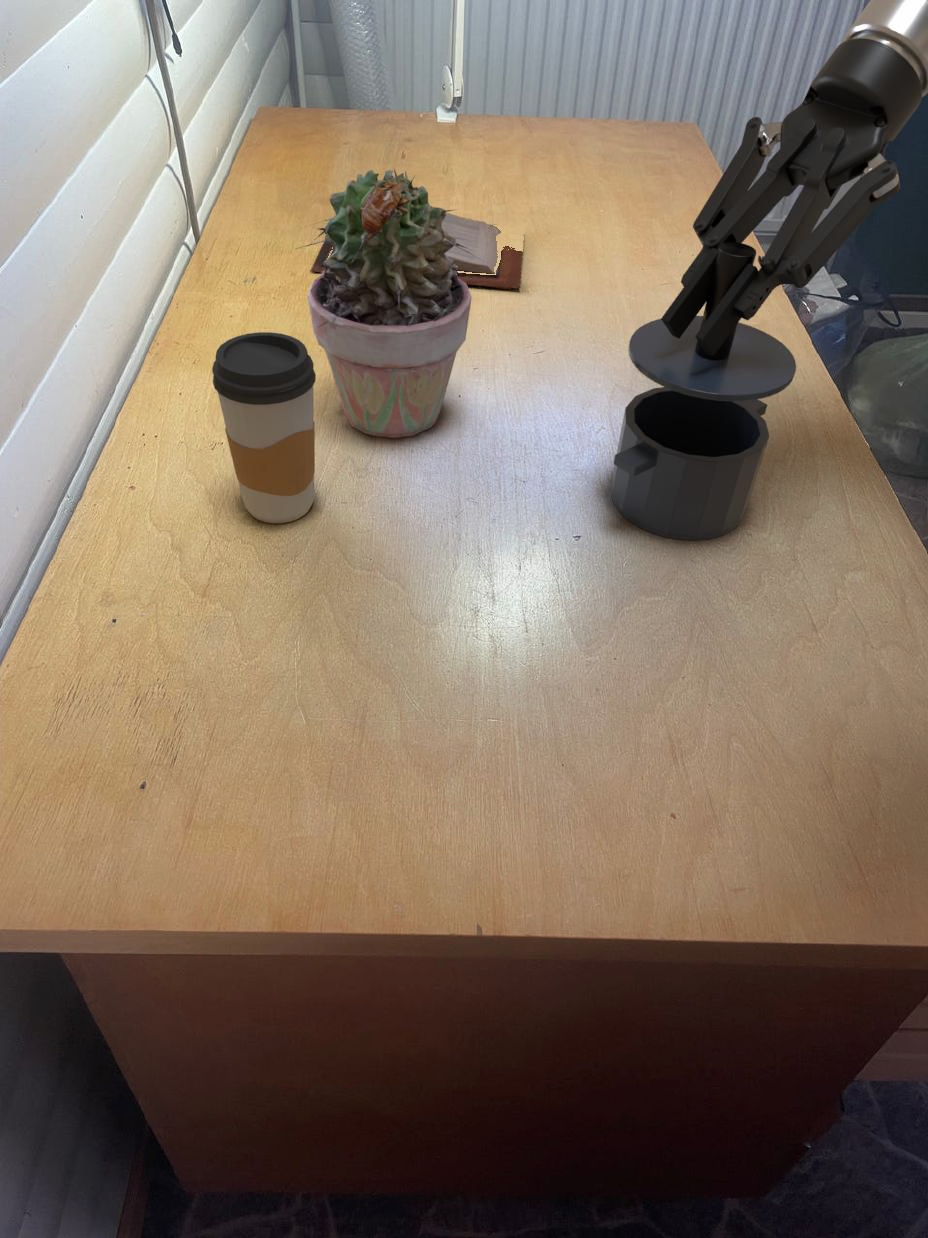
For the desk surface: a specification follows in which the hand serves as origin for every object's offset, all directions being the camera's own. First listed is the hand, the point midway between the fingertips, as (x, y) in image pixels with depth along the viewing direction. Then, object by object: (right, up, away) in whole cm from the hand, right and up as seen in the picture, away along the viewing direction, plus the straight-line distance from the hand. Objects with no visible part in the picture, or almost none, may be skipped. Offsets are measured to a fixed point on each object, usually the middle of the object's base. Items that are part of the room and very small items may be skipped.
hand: (687, 337), depth 72 cm
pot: (+3, -11, +15) cm, 19 cm away
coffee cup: (-35, -12, +12) cm, 38 cm away
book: (-23, +28, +55) cm, 66 cm away
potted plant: (-25, 0, +25) cm, 36 cm away
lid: (+3, -1, +4) cm, 5 cm away
